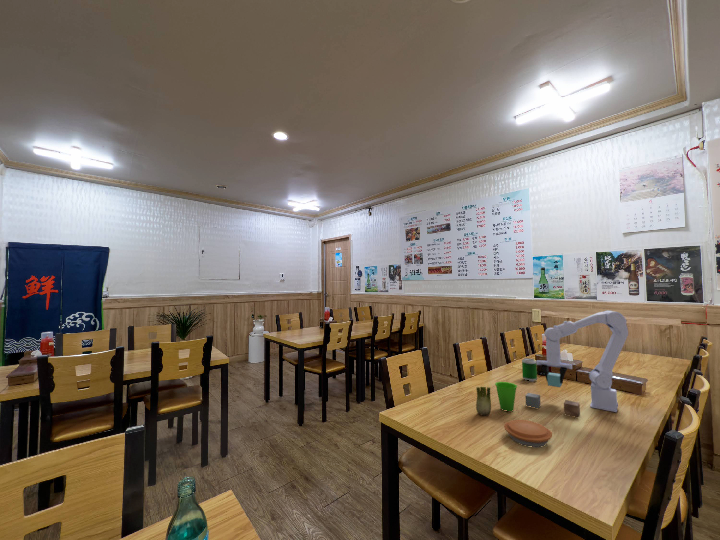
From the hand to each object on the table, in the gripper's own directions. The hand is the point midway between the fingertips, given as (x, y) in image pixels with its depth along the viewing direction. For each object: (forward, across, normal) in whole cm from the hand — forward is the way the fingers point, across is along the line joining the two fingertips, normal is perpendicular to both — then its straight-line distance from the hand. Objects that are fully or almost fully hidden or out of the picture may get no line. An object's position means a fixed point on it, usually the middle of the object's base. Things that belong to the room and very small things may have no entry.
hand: (554, 382), depth 149 cm
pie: (+10, +1, +48) cm, 49 cm away
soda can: (+10, +18, -31) cm, 37 cm away
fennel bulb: (+10, +21, +36) cm, 43 cm away
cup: (+10, +15, +24) cm, 30 cm away
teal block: (+1, 0, 0) cm, 1 cm away
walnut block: (+10, -8, +12) cm, 17 cm away
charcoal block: (+10, +7, +12) cm, 17 cm away
